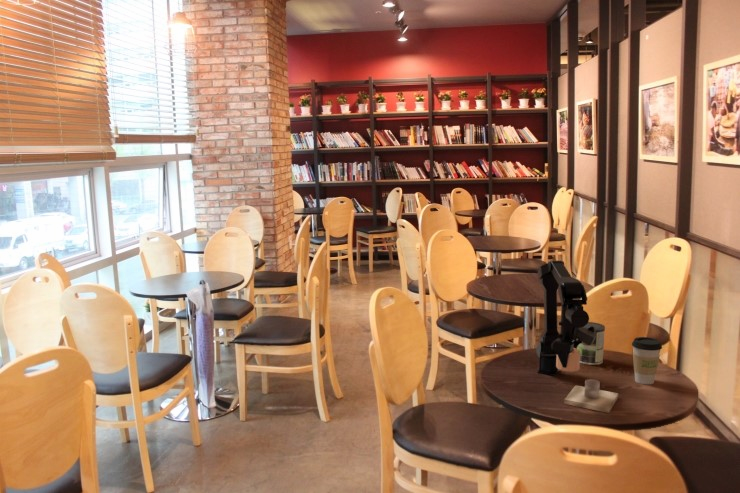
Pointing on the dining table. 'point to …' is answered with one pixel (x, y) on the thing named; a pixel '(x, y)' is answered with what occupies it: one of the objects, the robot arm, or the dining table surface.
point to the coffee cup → (645, 359)
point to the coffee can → (593, 346)
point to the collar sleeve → (570, 361)
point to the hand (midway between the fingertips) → (568, 364)
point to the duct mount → (591, 397)
